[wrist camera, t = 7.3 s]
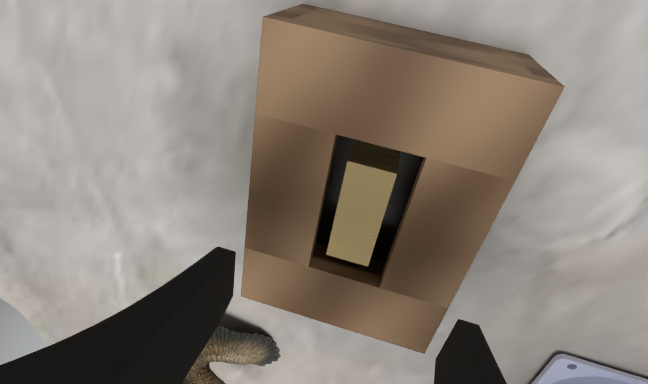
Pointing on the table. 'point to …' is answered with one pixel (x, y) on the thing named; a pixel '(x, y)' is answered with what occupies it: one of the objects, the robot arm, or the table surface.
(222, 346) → the eagle figurine
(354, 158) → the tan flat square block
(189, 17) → the table surface
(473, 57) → the box
